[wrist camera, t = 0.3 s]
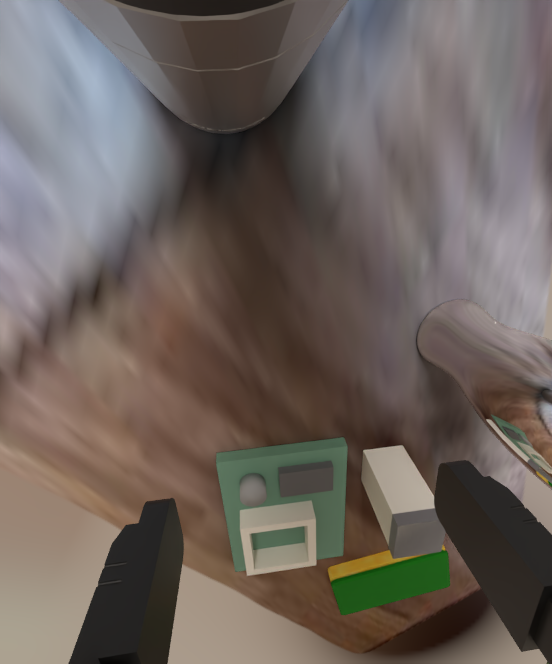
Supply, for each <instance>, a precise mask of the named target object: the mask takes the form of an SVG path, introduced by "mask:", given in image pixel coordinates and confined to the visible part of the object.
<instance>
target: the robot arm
mask: <svg viewBox="0 0 552 664" xmlns="http://www.w3.org/2000/svg"><path fill="white" fill-rule="evenodd" d="M59 1H60V2H61V3H62V4H63V5H64V6H65V7H66V8H67V9H68V10H69V11H70V12H72V13H73V14H74V15H75V16H76V17H77V18H78V19H79V20H80V21H81V22H82V23H83V24H84V25H85V26H86V27H87V28H88V29H89V30H90V31H91V32H92V33H93V34H94V35H95V36H96V37H97V38H98V39H99V40H100V41H101V42H102V43H103V44H104V45H105V46H106V47H107V48H108V49H109V50H110V51H111V52H112V53H113V54H114V55H115V56H116V57H117V58H118V59H119V60H120V61H121V62H122V63H123V64H124V65H125V66H126V67H127V68H128V69H129V70H130V71H131V72H132V73H133V74H134V75H135V76H136V77H137V79H138V80H139V81H140V82H141V83H142V84H143V85H144V86H145V87H146V88H147V89H148V90H149V91H150V92H151V93H152V94H153V95H154V96H155V97H156V98H157V99H158V100H159V101H160V102H161V103H162V104H163V105H164V106H165V107H167V108H168V109H169V110H170V111H171V112H172V113H174V114H175V115H176V116H177V117H178V118H179V119H181V120H182V121H184V122H186V123H188V124H189V125H191V126H193V127H195V128H197V129H200V130H204V131H207V132H210V133H219V134H231V133H237V132H243V131H245V130H248V129H250V128H252V127H254V126H257V125H259V124H260V123H261V122H262V121H264V120H265V119H266V118H268V117H269V116H270V115H271V114H272V113H273V112H274V111H275V110H276V108H277V107H278V106H279V105H280V104H281V102H282V101H283V100H284V98H285V97H286V95H287V94H288V92H289V91H290V89H291V88H292V87H293V85H294V83H295V82H296V80H297V79H298V77H299V76H300V74H301V73H302V71H303V70H304V68H305V67H306V65H307V63H308V62H309V60H310V59H311V57H312V56H313V54H314V53H315V51H316V50H317V48H318V47H319V45H320V43H321V42H322V40H323V39H324V37H325V36H326V34H327V33H328V31H329V30H330V28H331V27H332V25H333V23H334V22H335V20H336V19H337V17H338V16H339V14H340V13H341V11H342V10H343V8H344V7H345V5H346V3H347V2H348V0H59ZM434 506H435V511H436V514H437V517H438V519H439V521H440V523H441V525H442V526H443V528H444V529H445V531H446V533H447V534H448V536H449V537H450V539H451V540H452V542H453V544H454V545H455V547H456V548H457V550H458V552H459V553H460V555H461V556H462V558H463V560H464V561H465V563H466V564H467V566H468V567H469V569H470V571H471V572H472V574H473V575H474V577H475V579H476V580H477V582H478V583H479V585H480V587H481V588H482V590H483V591H484V593H485V594H486V596H487V598H488V599H489V601H490V602H491V604H492V606H493V607H494V609H495V610H496V612H497V613H498V615H499V617H500V618H501V620H502V622H503V623H504V625H505V626H506V628H507V629H508V631H509V633H510V634H511V636H512V637H513V639H514V641H515V642H516V644H517V645H518V647H519V649H520V650H521V651H522V652H523V651H528V650H534V649H540V651H541V652H542V654H543V655H544V657H545V658H546V660H547V664H552V535H551V534H550V533H549V531H547V529H546V528H545V527H544V526H543V525H542V524H541V523H540V522H537V519H536V518H535V517H534V516H533V514H532V513H531V512H530V511H529V510H528V509H527V508H526V509H525V508H524V505H523V504H522V503H521V502H520V500H519V499H518V498H517V497H516V496H515V495H514V494H513V493H512V492H511V491H510V490H509V489H508V488H506V487H505V486H503V485H502V484H500V483H499V482H497V481H496V480H494V479H493V478H491V477H490V476H488V477H483V476H482V475H481V474H480V473H479V471H478V470H477V469H476V468H475V467H474V466H473V465H472V464H471V463H470V462H469V461H466V460H464V461H456V462H449V463H442V464H440V466H439V469H438V476H437V483H436V490H435V496H434ZM183 551H184V544H183V534H182V529H181V525H180V521H179V516H178V512H177V508H176V503H175V500H174V499H173V498H170V499H162V500H155V501H147V502H146V503H145V505H144V507H143V510H142V514H141V517H140V520H139V523H137V524H130V525H126V526H125V527H124V528H123V530H122V531H121V532H120V534H119V535H118V537H117V538H116V539H115V541H114V542H113V543H112V545H111V548H110V551H109V553H108V556H107V559H106V562H105V567H104V569H103V570H102V573H101V576H100V578H99V581H98V587H96V590H95V592H94V595H93V598H92V601H91V603H90V606H89V609H88V612H87V614H86V617H85V620H84V623H83V626H82V628H81V631H80V634H79V637H78V639H77V642H76V645H75V648H74V651H73V654H72V656H71V659H70V661H69V664H167V663H168V656H169V649H170V642H171V636H172V629H173V622H174V615H175V609H176V602H177V595H178V589H179V581H180V574H181V568H182V562H183Z"/></svg>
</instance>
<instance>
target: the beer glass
mask: <svg viewBox="0 0 552 664" xmlns="http://www.w3.org/2000/svg"><path fill="white" fill-rule="evenodd" d="M417 346H418V349H419V352H420V354H421V355H422V357H423V358H424V359H426V360H427V361H428V362H430V363H431V364H433V365H435V366H437V367H439V368H440V369H442V370H444V371H445V372H446V373H447V374H449V375H450V376H451V377H452V378H453V379H454V381H455V382H456V383H457V384H458V386H459V387H460V389H461V390H462V391H463V393H464V394H465V396H466V398H467V399H468V401H469V402H470V403H471V405H472V406H473V408H474V409H475V411H476V412H477V414H478V415H479V417H480V418H481V419H482V421H483V422H484V423H485V424H486V426H487V427H488V428H489V430H490V431H491V432H492V433H493V435H494V436H495V437H496V438H497V439H498V440H499V441H500V442H501V443H502V444H503V445H504V446H505V448H506V449H507V450H508V451H509V452H510V453H511V454H512V455H513V456H514V457H515V458H517V459H518V460H519V461H520V462H521V463H522V464H523V465H524V466H525V467H526V468H527V469H528V470H529V471H531V472H532V473H533V474H534V475H535V476H536V477H537V478H539V479H540V480H541V481H542V482H543V483H544V484H545V485H547V486H548V487H549V488H550V489H551V490H552V340H550V339H547V338H543V337H540V336H537V335H534V334H530V333H527V332H524V331H520V330H517V329H514V328H511V327H508V326H506V325H504V324H502V323H500V322H498V321H497V320H496V319H494V318H493V317H492V316H491V315H490V314H489V313H488V312H487V311H486V310H485V309H484V308H482V307H481V306H480V305H478V304H477V303H475V302H473V301H470V300H465V299H457V300H451V301H448V302H445V303H443V304H441V305H439V306H438V307H436V308H435V309H434V310H432V311H431V312H430V313H429V314H428V315H427V316H426V318H425V319H424V320H423V322H422V324H421V326H420V328H419V331H418V335H417Z"/></svg>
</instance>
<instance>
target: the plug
mask: <svg viewBox="0 0 552 664" xmlns="http://www.w3.org/2000/svg"><path fill="white" fill-rule="evenodd" d="M361 481H362V483H363V485H364V488H365V490H366V493H367V495H368V498H369V500H370V502H371V505H372V507H373V510H374V512H375V514H376V517H377V519H378V522H379V524H380V527H381V529H382V531H383V534H384V536H385V539H386V541H387V543H388V548H389V550H390V553H391V555H392V558H393V559H397V558H404V557H410V556H417V555H423V554H430V553H436V552H441V550H442V546H443V541H444V537H445V533H446V531H445V529H444V528H443V526H442V525H441V523H440V521H439V519H438V517H437V514H436V511H435V506H434V495H433V494H432V492H431V491H430V489H429V487H428V486H427V484H426V482H425V481H424V479H423V478H422V476H421V474H420V473H419V471H418V470H417V468H416V466H415V465H414V463H413V461H412V460H411V458H410V457H409V455H408V453H407V452H406V450H405V449H404V447H403V445H401V446H393V447H385V448H377V449H369V450H363V459H362V474H361Z"/></svg>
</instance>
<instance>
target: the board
mask: <svg viewBox="0 0 552 664" xmlns="http://www.w3.org/2000/svg"><path fill="white" fill-rule="evenodd" d="M347 448H348V446H347V444H346V441H345V439H344V437H342V438H334V439H326V440H317V441H309V442H301V443H293V444H285V445H277V446H269V447H261V448H253V449H245V450H237V451H229V452H221V453H217V456H216V465H217V471H218V477H219V482H220V488H221V494H222V499H223V505H224V511H225V516H226V522H227V528H228V533H229V539H230V544H231V550H232V556H233V561H234V567H235V572H238V571H245V570H246V571H247V576H249V575H256V574H263V573H269V572H276V571H282V570H289V569H295V568H302V567H309V566H315V565H316V560H318V559H325V558H331V557H338V556H343V545H344V521H345V497H346V472H347Z"/></svg>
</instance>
